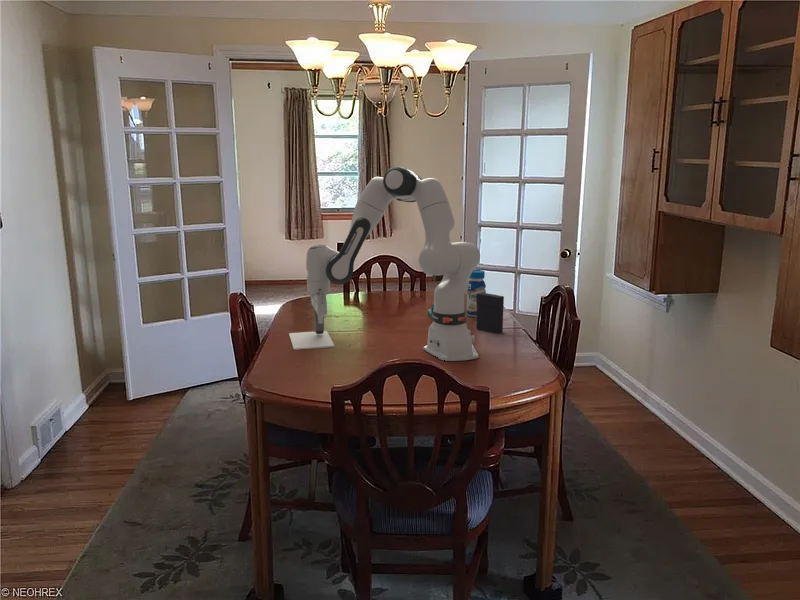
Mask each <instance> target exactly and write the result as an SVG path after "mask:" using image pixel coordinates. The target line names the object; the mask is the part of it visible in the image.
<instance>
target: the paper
mask: <svg viewBox="0 0 800 600" xmlns="http://www.w3.org/2000/svg"><path fill="white" fill-rule="evenodd" d="M288 336H289V338H290V341H291V346H292V349H293V350H294V351H299V350H301V351H302V350H311V349H312V350H313V349H324V348H325V349H326V348H335V345H336V344H335V343H334V342H333V340H332V338H331V336H330V335H329V332H328V331H327V330H324V333H323V334H316V331H303V332H289V333H288Z"/></svg>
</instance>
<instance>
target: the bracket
mask: <svg viewBox="0 0 800 600" xmlns="http://www.w3.org/2000/svg"><path fill="white" fill-rule="evenodd" d="M433 310H434V303H431V308H428V309H427V316H428V315H429V316H428V317H429V318H430V320H431V319H432V314H433Z"/></svg>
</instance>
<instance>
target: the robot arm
mask: <svg viewBox="0 0 800 600" xmlns="http://www.w3.org/2000/svg"><path fill="white" fill-rule="evenodd" d="M394 200H397V201H398V202H399V201H400V202H405V203H416V204H417V207H418V210H419V215H420V217H421V221H422V225H423V229H424V233H425V234H424V236H425V238H424V239H425V240H424V241H425V242H424V246H423V248H422V250H421V251H420V253H419V255H418V256H419V257H418V265H419V269H420V270H421V271H422V273H423V274H426V275H429V276H437V277H438V276H442V279H441V281H440V282H439V284H438V285H437V286H436V287H435V289H434V291H433V295H434V296H433V304H434V310H433V314H432V320H433V321H432V320H431V321H432V323H431V324H430V325H429V327H428V331H427V333H428V334H427V344H426V345H424V346H423V351H425V352H427V353H428V354H430V355H432V356H434V357H435V356H436V357H435V358H437V357H438V358H437V359H439V360H441V361H444V360H445V361H446V362H459V361H469V360H476V359H478V358H480V357H479V353H478V351H477V350H476V348H475V346H474V345H473V343H475V341H476V337H475V335H471V333H472V331H471V329H469V327H468V324H467V323H466V322H467V313H466V310H465V301H466V300H465V299H466V291H467V285H468V282H469V281H470V278H469V277H470V275H471V273H472V271H473V270H475V269H476V268H477V266H478V265H479V263H480V261H481V253H480V249H479V248H478V246H477V245H476V244H475V243H473V242H467V241H456V242H451V240H450V234H451V233H450V232H451V231H452V230H453V229H454V227H455V224H456V222H455V218H454V215H453V212H452V208H451V205H450V202H449V198H448V197H447V194H446V191H445V189H444V188H443V185H442V184H441V182H440V181H439V180H438V179H437V178H434V177H427V178H424V179H422V178H421V176H419V175H417V174H416V173H414V171H412V170H410V169H407V168H405V167H403V166H393V167H390V168H388V169H387V170H386V172H385V173H384V175H383V177H381V176H374V177H373V178H371V179H370V180H369V182H368V183H367V185H366V186H365V188H364V189H363V190H362V192H361V194H360V196H359V198H358V199H357V202H356V204H355V207H354V209H353V212H352V218H351V224H350V229H349V231H348V235H347V236H346V239H345V240H344V243H343V244H342V246H341V248H340V251H338V250H335V249H333V248H331V247H329V246H328V245H327V244H316V245H313V246H311V247H309V248H308V249H307V252H306V260H305V261H306V262H305V263H306V266H305V267H306V272H307V276H306V291H307V293H309V296H310V301H311V302H310V303H311V306H312V307H313V308H314V304H315V311H316V313H317V315H318V323H319V324H322V323H323V316H324V317H325V316H327V315H328V302H327V300H328V299H327V296H328V293H329V292H331V283H332V284H334V285H345V284H347V283H349V282H350V280H351V279H352V277H353V275H354V267H355V266H354V265H355V260H356V258H357V257H358V255H359V252H360V251H361V249H362V246H363V244H364V243H365V241H366V239H367V237H369V235H370V234H371V233H372V231H373V230H374V229H375V228H376V227H377V225H378V224H379V223H380V222H381V220H382V218H383V217H384V215H385V213H386V211H387V208H388V206H389V205H390V204H391V202H392V201H394Z"/></svg>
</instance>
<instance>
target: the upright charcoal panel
mask: <svg viewBox="0 0 800 600" xmlns="http://www.w3.org/2000/svg"><path fill="white" fill-rule="evenodd" d="M504 300H505V297H504V296H503V295H497V294H492V293H488V292H486V293H478V294H477V296H476V303H477V317H476V327H475V328H476V330H479V331H483V330H484V331H483V332H489V333H493V334H496V335H497V334H501V333H503V329H504V327H503V326H504Z"/></svg>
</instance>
